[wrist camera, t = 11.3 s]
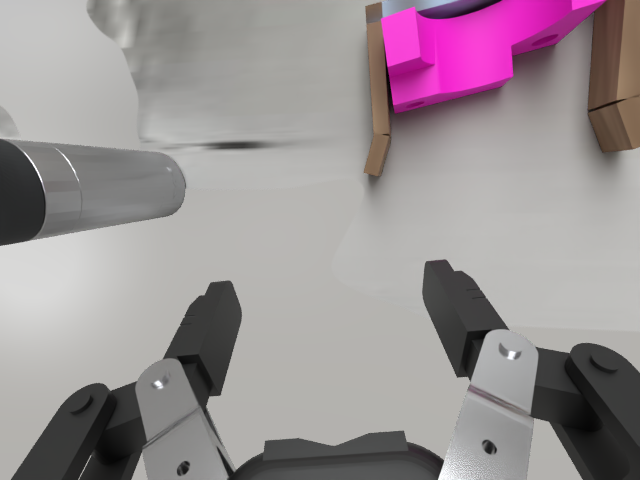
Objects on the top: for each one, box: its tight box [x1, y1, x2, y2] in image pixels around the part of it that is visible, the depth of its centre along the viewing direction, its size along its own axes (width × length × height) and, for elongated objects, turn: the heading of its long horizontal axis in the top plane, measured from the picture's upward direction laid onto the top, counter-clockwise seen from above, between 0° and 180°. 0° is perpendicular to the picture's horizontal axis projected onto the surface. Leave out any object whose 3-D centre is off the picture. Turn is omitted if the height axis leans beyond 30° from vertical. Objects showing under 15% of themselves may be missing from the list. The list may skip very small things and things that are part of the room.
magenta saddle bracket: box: [381, 0, 606, 114], centre depth 26 cm, size 15×6×8 cm, turn 101°
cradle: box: [364, 0, 640, 176], centre depth 27 cm, size 24×16×4 cm, turn 96°
